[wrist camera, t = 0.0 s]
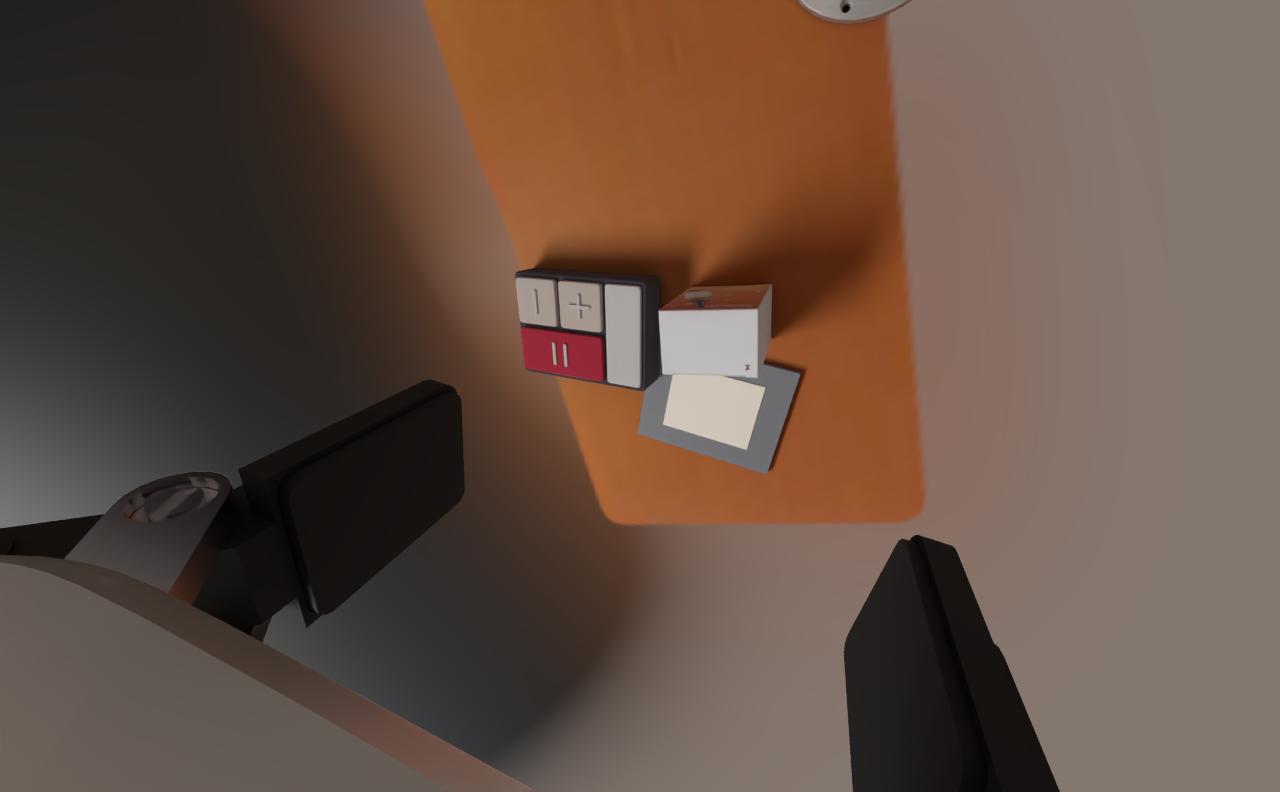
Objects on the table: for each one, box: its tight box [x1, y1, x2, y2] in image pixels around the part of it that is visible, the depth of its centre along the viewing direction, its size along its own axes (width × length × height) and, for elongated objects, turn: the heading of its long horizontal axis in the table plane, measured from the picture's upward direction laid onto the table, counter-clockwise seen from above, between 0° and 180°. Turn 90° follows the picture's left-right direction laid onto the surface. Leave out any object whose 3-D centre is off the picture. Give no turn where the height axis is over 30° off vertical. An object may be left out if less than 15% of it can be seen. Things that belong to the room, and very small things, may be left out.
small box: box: [658, 284, 772, 378], centre depth 40 cm, size 8×6×10 cm
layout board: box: [638, 336, 801, 474], centre depth 48 cm, size 12×15×1 cm
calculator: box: [515, 268, 660, 391], centre depth 47 cm, size 11×4×15 cm
